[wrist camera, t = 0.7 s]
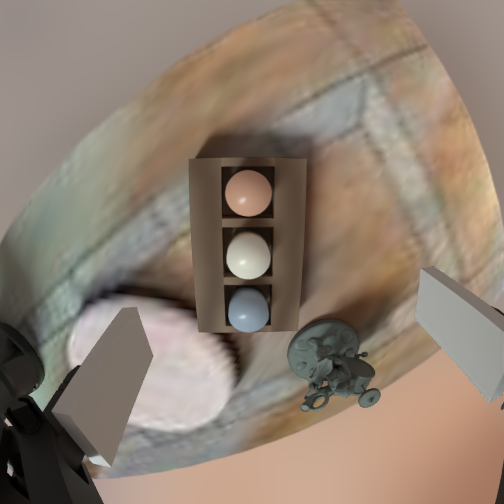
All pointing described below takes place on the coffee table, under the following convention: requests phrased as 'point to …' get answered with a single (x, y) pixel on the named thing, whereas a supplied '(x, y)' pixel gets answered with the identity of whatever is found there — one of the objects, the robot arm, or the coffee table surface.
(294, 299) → the button board
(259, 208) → the button terracotta
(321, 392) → the figurine
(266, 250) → the button cream
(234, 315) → the button slate
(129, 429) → the coffee table surface
